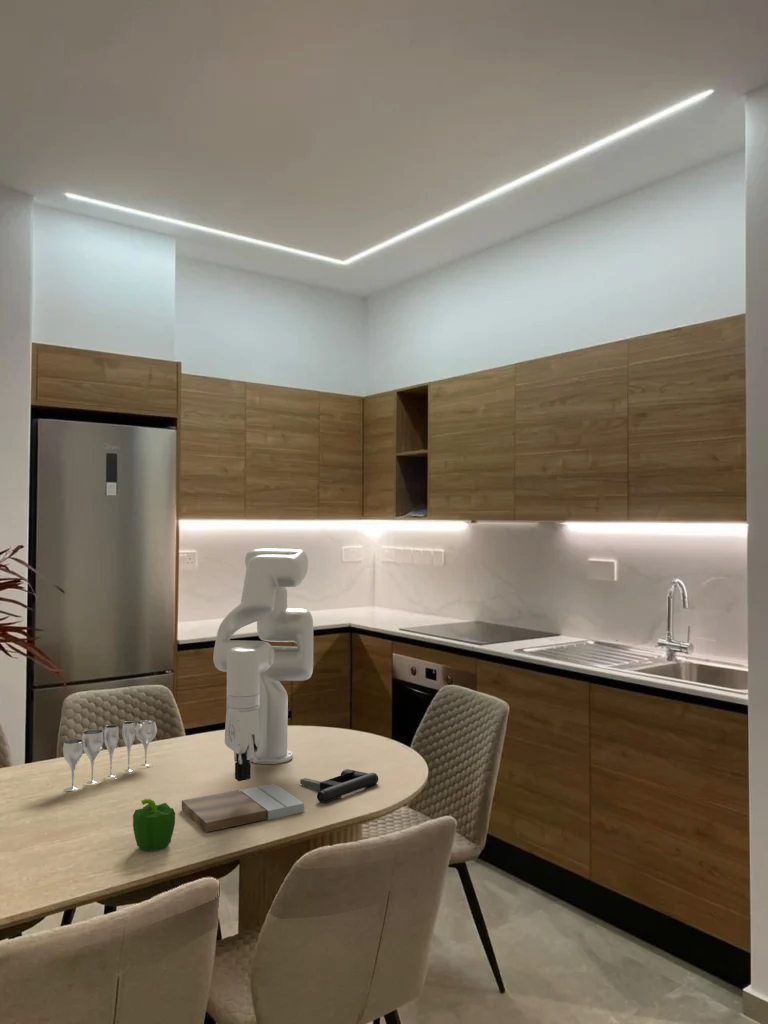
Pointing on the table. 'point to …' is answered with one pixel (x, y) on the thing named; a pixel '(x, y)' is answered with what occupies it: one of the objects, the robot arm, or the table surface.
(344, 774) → the door handle
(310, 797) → the table surface
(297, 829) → the table surface
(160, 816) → the bell pepper
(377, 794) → the table surface
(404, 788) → the table surface
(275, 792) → the laid boards
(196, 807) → the plank
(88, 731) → the goblet set
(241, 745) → the robot arm
